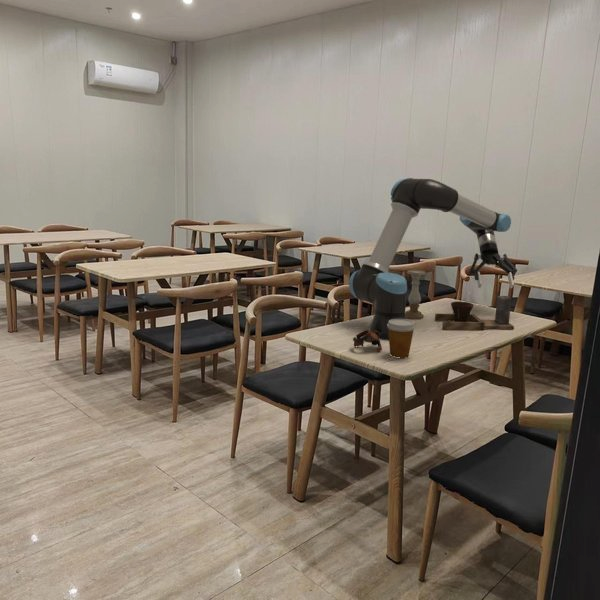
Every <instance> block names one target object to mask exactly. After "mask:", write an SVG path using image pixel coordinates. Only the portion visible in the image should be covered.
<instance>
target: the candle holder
mask: <svg viewBox="0 0 600 600" xmlns="http://www.w3.org/2000/svg"><path fill="white" fill-rule="evenodd" d="M406 272H407V274H408V275H411V278H412V281H411V283H410V284H411V292H410V293H409V295H408V302H409V304H408V307H409V310H407V311H406V310H405V318H406V319H409V318H411V320H421V318H422V319H424V317H425V315H424V314H423V312H422V311H419V308H420V307H421V305H420V304H421V301H422V297H421V294H420V291H419V290H420V289H419V288H420V287H419V286H420V285H421V282H420V279H421V277H422V275H423V276H424V275H426V271H424V270H420V269H410V270H407V271H406Z"/></svg>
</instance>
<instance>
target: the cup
mask: <svg viewBox="0 0 600 600" xmlns="http://www.w3.org/2000/svg"><path fill="white" fill-rule="evenodd" d="M450 306H451V309H452V314H454V321H453V322H468V321H467V320H468V317H469V315H470V314H471V311H472V310H473V307H474V304H473V303H470V302H468V301H453V302H450Z"/></svg>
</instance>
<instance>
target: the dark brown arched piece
mask: <svg viewBox="0 0 600 600" xmlns="http://www.w3.org/2000/svg"><path fill="white" fill-rule="evenodd" d="M352 341H353V347H355V348H356V346H358V347H360V346H361V347H364V344H365V343H370V344H371V345H372V346H377V347H376V350H377V352H378V351H381V350H382V351H383V347H382V344H381V339H379V332H378V331H376V330H374V331H371V330H369V329H365V330H362V331H360V332H359V333H357V334H356V335H355V336H354V337H353V338H352ZM382 351H381V352H382Z"/></svg>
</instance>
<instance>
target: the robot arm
mask: <svg viewBox="0 0 600 600" xmlns="http://www.w3.org/2000/svg"><path fill="white" fill-rule="evenodd" d="M390 196H391V197H390V199H391V204H390V205H391V208H392V210H391V212H390V214H389V217H388V219H387V220H386V223H385V225H384V227H383V229H382V232H381V234H380V236H379V238H378V240H377V241H376V244H375V246H374V248H373V250H372V253H371V254H370V257H369V259H368V261H367V262H364V263H362V265H361V267H360V269H359V270H356V271H354V272H353V273H352V274H351V275H350V278H349V280H348V288H349V290H350V294H351V295H352V296H353V297H355V299H357V300H360V301H363V302H364V301H365V302H366V303H370V304H372V305H374V314H373V317H372V320H371V323H370V326H369V328H368V330H371V331H374V330H376V331H378V332H379V338H382V339H381V340H386V339H389V332H388V326H387V324H388V322H389V320H392V319H406V320H407V318H406V317H405V313H406V307H407V297H408V295H407V293H408V282H407V278H405V277H404V276H403V275H400V274H398V273H392V272H388V271H389V268H390V266H391V264H392V262H393V260H394V257H395V255H396V253H397V251H398V249H399V246H400V245H401V242H402V240H403V238H404V236H405V234H406V232H407V229H408V227H409V226H410V223H411V221H412V219H413V218H415V217H417V216H418V214H419V213H420V210H421V209H423V210H425V209H426V210H434V211H435V210H437V211H441V212H443V213H449V212H450V213H452V214H454V215H457V216H459V221H460V222H461V223H462V224H463V225H464V226H465V227H466V228H468V229H469V230H470V231H472V232H473V233H475V235H476V237H477V242H478V247H479V253H480V254H478V253H475V254H474V257H473V261H472V262H473V263H472V265H471V267H470V269H469V274H472V276H474V280H475V281H477V282H476V283H477V286H478V288H480V289H481V287H482V284H483V281H482V277H481V273H480V270H482V268H483V267H484V266H485V265H487V266H490V265H492V266H496V267H499V268H500V269H501V270H503V272H505V273H506V274H507V279H508V285H509V288H510V289H513V287H514V286H515V283H514V280H515V275H516V274H517V272H518V269H517V267H516V266H515V265H514V264H513V263H512V261H510V259H509V258H508V256H507V254H506V253H504V254H503V255H500V254H499V249H498V245H497V239H496V234H495V232H497V233H505V232H507V231H509V230H510V228H511V224H512V218H511V217H510V215H508V214H505V213H499V212H496V211H493V210H492V209H490V208H488V207H486V206H484V205H481V204H480V203H477V202H476V201H474V200H471V199H469V198H467V197H465V196H463V195H461V194H459V192H458V191H457V190H456V189H455V188H453V187H451V186H449V185H447V184H444V183H443V182H440V181H437V180H435V179H431V178H413V177H408V178H402V179H400V180H399V179H398V181H396V182H395V183H394V185H393V187H392V189H391V191H390ZM478 260H481V262H480V264H479V265H478V266H476V265H477V263H478ZM475 267H476V268H475Z"/></svg>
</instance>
